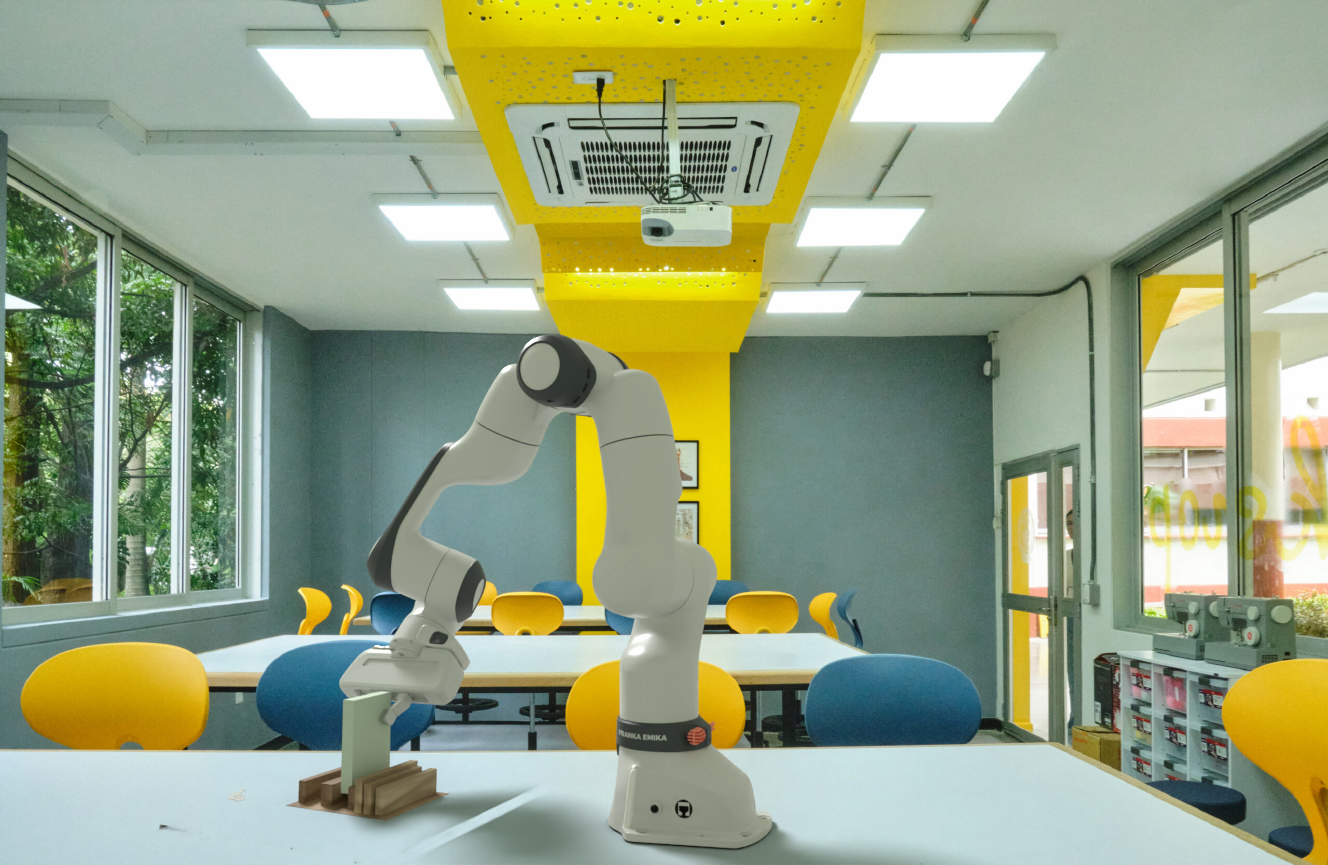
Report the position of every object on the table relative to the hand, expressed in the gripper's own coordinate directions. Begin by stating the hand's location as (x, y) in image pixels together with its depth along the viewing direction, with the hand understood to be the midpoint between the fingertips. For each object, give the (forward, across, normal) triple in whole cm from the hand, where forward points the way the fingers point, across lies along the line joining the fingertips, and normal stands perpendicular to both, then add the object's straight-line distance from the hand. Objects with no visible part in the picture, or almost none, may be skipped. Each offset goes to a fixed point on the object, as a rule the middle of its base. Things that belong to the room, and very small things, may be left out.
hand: (375, 721), depth 137 cm
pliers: (+17, -17, 0) cm, 24 cm away
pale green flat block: (+8, 0, +5) cm, 9 cm away
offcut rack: (+10, +1, +7) cm, 12 cm away
